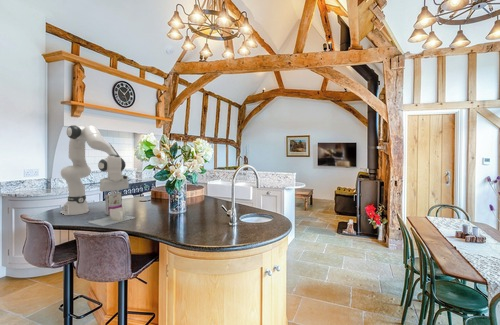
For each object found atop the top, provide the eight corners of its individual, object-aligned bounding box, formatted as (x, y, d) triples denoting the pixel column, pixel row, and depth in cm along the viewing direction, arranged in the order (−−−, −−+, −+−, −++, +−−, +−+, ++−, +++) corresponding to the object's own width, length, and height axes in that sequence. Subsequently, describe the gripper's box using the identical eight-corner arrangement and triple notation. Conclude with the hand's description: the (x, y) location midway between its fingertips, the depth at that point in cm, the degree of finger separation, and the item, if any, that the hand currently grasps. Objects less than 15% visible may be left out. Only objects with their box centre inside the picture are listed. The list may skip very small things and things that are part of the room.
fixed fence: (109, 218, 191) (109, 209, 190) (123, 215, 201) (123, 206, 200) (110, 218, 190) (110, 209, 189) (125, 215, 200) (125, 206, 199)
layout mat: (87, 222, 181) (87, 221, 181) (120, 215, 203) (120, 214, 203) (103, 226, 172) (103, 225, 172) (135, 218, 194) (135, 217, 194)
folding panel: (121, 220, 184) (121, 212, 184) (111, 218, 190) (111, 210, 189) (123, 219, 185) (123, 211, 185) (113, 217, 191) (113, 209, 191)
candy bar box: (119, 211, 213) (118, 192, 213) (122, 212, 211) (122, 192, 210) (105, 214, 204) (104, 194, 203) (108, 215, 201) (108, 194, 201)
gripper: (102, 178, 173) (103, 198, 174) (130, 176, 191) (130, 194, 192) (97, 177, 177) (97, 197, 177) (124, 175, 194) (124, 193, 195)
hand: (114, 196), depth 185 cm, fingers closed
